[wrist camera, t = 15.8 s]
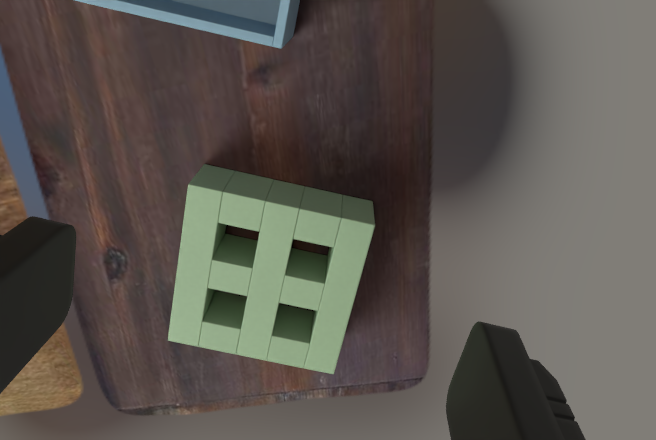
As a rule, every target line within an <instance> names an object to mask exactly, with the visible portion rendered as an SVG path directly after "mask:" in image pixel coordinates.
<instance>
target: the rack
mask: <svg viewBox="0 0 656 440" xmlns="http://www.w3.org/2000/svg"><path fill="white" fill-rule="evenodd" d="M226 225H231V226H235V227H240V228H245V229H249V230H254V231H260V232H259V237H258V241H257V240H253V239H248V238H244V237H239V236H234V235H230V234H225V230H226ZM374 228H375V219H374V209H373V201H369V200H364V199H360V198H355V197H351V196H346V195H342V194H337V193H333V192H328V191H324V190H319V189H315V188H310V187H304V186H301V185H297V184H292V183H288V182H283V181H279V180H273V179H270V178H265V177H261V176H256V175H252V174H247V173H243V172H238V171H233V170H229V169H224V168H220V167H215V166H211V165H206V164H204V165H203V166H202V168H201V169H200V170H199V172H198V173H197V174H196V175H195V177H194V178H193V179H192V180H191V182H190V183H189V184H188V190H187V198H186V206H185V213H184V221H183V228H182V236H181V244H180V251H179V259H178V266H177V274H176V282H175V289H174V297H173V304H172V312H171V320H170V327H169V335H168V340H169V341H173V342H178V343H183V344H188V345H193V346H199V347H203V348H207V349H212V350H217V351H222V352H227V353H232V354H237V355H242V356H247V357H252V358H256V359H261V360H267V361H271V362H275V363H280V364H285V365H290V366H295V367H300V368H305V369H310V370H315V371H320V372H325V373H330V374H334V371H335V368H336V364H337V361H338V357H339V353H340V350H341V346H342V343H343V339H344V335H345V332H346V328H347V325H348V321H349V318H350V314H351V310H352V307H353V303H354V300H355V296H356V292H357V289H358V285H359V282H360V278H361V274H362V271H363V267H364V264H365V260H366V257H367V253H368V249H369V246H370V242H371V239H372V235H373V231H374ZM293 239H296V240H301V241H305V242H310V243H315V244H319V245H324V246H328V247H329V251H328V255H322V254H317V253H313V252H308V251H303V250H299V249H294V248H291V246H292V242H293ZM216 290H220V291H225V292H229V293H234V294H239V295H244V296H247V297H242V296H237V295H233V294H228V293H223V292H218V291H216ZM215 291H216V292H215ZM279 303H282V304H287V305H292V306H297V307H301V308H306V309H311V310H314V312H313V311H309V310H304V309H300V308H295V307H290V306H285V305H281V304H279Z"/></svg>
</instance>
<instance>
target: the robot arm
mask: <svg viewBox="0 0 656 440" xmlns="http://www.w3.org/2000/svg"><path fill="white" fill-rule="evenodd" d="M75 249H76V232H75V229H74V227H73V226H72V225H68V224H64V223H60V222H56V221H51V220H47V219H43V218H38V217H29V218H27V219H26V220H25V221H23V222H22V223H20V224H19V225H17V226H16V227H14V228H13V229H12V230H10V231H9V232H7V233H6V234H4V235H0V393H1V392H2V391H3V390H4V389H5V388H6V387H7V385H8V384H9V383H10V382H11V381H12V380H13V379H14V378H15V376H16V375H17V374H18V373H19V372H20V371H21V370H22V369H23V367H24V366H25V365H26V364H27V363H28V362H29V361H30V360H31V359H32V357H33V356H34V355H35V354H36V353H37V352H38V351H39V350H40V348H41V347H42V346H43V345H44V344H45V343H46V342H47V341H48V339H49V338H50V337H51V336H52V335H53V334H54V333H55V332H56V330H57V329H58V328H59V327H60V326H61V324H62V323H63V321H64V320H65V318H66V316H67V314H68V311H69V308H70V305H71V301H72V295H73V281H74V265H75ZM446 413H447V420H448V425H449V430H450V436H451V440H585V438H584V436H583V434H582V432H581V429H580V428H579V425H578V423H577V422H576V421H574V418H575V417H574V415H573V413H572V411H571V409H570V407H569V405H568V404H566V398H565V396H564V394H563V392H562V390H561V388H560V386H559V384H558V382H557V380H556V379H555V378H554V377H553V376H552V375H551V374H550V373H549V372H548V371H547V370H546V369H545V367H544V366H543V365H542V364H541V363H540V362H539V361H537V360H532V359H529V357H528V354H527V352H526V350H525V347H524V345H523V343H522V340H521V338H520V336H519V334H518V332H517V331H516V330H513V329H509V328H505V327H500V326H496V325H491V324H488V323H483V322H477V323H476V324H475V325H474V326H473V328H472V330H471V332H470V335H469V337H468V339H467V342H466V345H465V347H464V350H463V352H462V355H461V357H460V360H459V362H458V365H457V368H456V370H455V373H454V375H453V378H452V380H451V383H450V386H449V390H448V395H447V403H446Z"/></svg>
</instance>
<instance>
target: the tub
mask: <svg viewBox="0 0 656 440" xmlns="http://www.w3.org/2000/svg"><path fill="white" fill-rule="evenodd" d="M75 1H79V2H84V3H88V4H92V5H97V6H101V7H105V8H109V9H114V10H118V11H122V12H127V13H131V14H135V15H139V16H144V17H148V18H152V19H156V20H161V21H165V22H169V23H174V24H178V25H182V26H186V27H191V28H195V29H199V30H204V31H208V32H212V33H216V34H221V35H225V36H229V37H234V38H238V39H242V40H246V41H251V42H255V43H259V44H264V45H268V46H273V47H277V48H282V47H283V46H284V45H285V44H286V43H287V42H288V41H289V40H290V39H291V38H292V37H293V35H294V29H295V24H296V19H297V13H298V8H299V3H300V0H75Z"/></svg>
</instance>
